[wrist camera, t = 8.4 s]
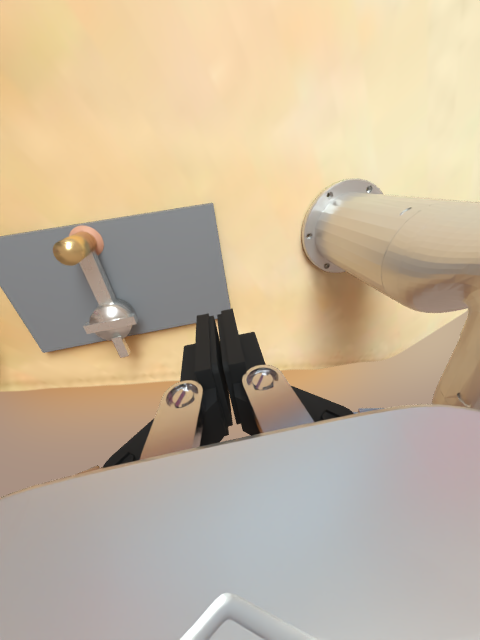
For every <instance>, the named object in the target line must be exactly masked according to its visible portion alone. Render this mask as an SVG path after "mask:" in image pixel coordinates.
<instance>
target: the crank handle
mask: <svg viewBox="0 0 480 640" xmlns="http://www.w3.org/2000/svg"><path fill="white" fill-rule="evenodd" d="M96 247H97V242H96V240H95V238H94V237H93V236H92V235H91V234H90V233H88V232H84V231H80V232H77V233H75V234H73V235H71V236H69V237H67V238H65V239H63V240H60V241H58V242H57V243H55V245H54V246H53V254H54V256H55V258H56V259H57V260H58V261H59V262H60V263H62V264H64V265H68V266H73V265H76V264H78V263H79V264H80V266H81V268H82V270H83V272H84V274H85V276H86V279H87V281H88V283H89V285H90V287H91V289H92V291H93V294H94V296H95V298H96V300H97V302H98V304H99V305H98V307H97V308H96V309H95V311H94V312H93V313H92V315H91V317H90V321H89V322H87V323H85V324H84V326H83V328H84V329H85V331H86V333H87V334H91V333H95V334H96V335H97V336H99V337H100V338H102V339H105V340H110V341H113V343H114V345H115V347H116V349H117V351H118V354H119V356H120V358H121V357H126V356H129V355H130V349H129V347H128V345H127V343H126V340H125V337H126V336H127V335H128V334H129V332H130V330H131V328H132V325H135V324H137V322H138V319H137V317H136V314H135V311H134V309H133V307H132V306H131V305H130V304H129V303H128V302H126V301H125V300H123V299H120V298H115V295H114V293H113V291H112V288H111V286H110V283H109V281H108V279H107V276H106V274H105V272H104V269H103V267H102V265H101V262H100V260H99V258H98V255H97V253H96V251H95V249H96Z"/></svg>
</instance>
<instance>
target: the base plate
mask: <svg viewBox="0 0 480 640" xmlns="http://www.w3.org/2000/svg"><path fill="white" fill-rule="evenodd" d="M80 231H84V232H88V233H90V234H91V235H92V236H93V237H94V238H95V240H96V242H97V247H96V249H95V251H96V253H97V255H98V258H99V260H100V262H101V265H102V267H103V269H104V272H105V274H106V276H107V279H108V281H109V283H110V286H111V288H112V291H113V293H114V295H115V298H120V299H123V300H125V301H126V302H128V303H129V304H130V305H131V306H132V307H133V309H134V311H135V314H136V317H137V319H138V322H137V324H135V325H132V328H131V330H130V332H129V334H128V335H127V336H131V335H136V334H142V333H147V332H152V331H157V330H162V329H167V328H172V327H177V326H182V325H188V324H193V323H196V320H197V315H203V314H208V313H209V316H213V315H214V319H218V318H217V315H218V314H221V311H223V310H228V309H230V303H229V297H228V291H227V285H226V279H225V273H224V267H223V261H222V255H221V249H220V243H219V237H218V231H217V225H216V219H215V213H214V207H213V203H208V204H202V205H195V206H189V207H183V208H176V209H170V210H164V211H157V212H151V213H145V214H139V215H132V216H126V217H120V218H113V219H107V220H101V221H94V222H88V223H82V224H75V225H69V226H63V227H56V228H50V229H44V230H37V231H31V232H25V233H18V234H12V235H6V236H0V286H1V288H2V290H3V291H4V293H5V294H6V296H7V297H8V299H9V300H10V302H11V303H12V305H13V307H14V308H15V310H16V311H17V313H18V314H19V316H20V317H21V319H22V321H23V322H24V324H25V325H26V327H27V328H28V330H29V331H30V333H31V335H32V336H33V338H34V339H35V341H36V342H37V344H38V345H39V347H40V348H41V350H42V352H43V353H45V352H50V351H55V350H60V349H65V348H70V347H75V346H80V345H85V344H90V343H96V342H101V341H106V340H105V339H102V338H100V337H99V336H97V335H96V334H95V333H91V334H87V333H86V331H85V329H84V328H83V326H84V324H85V323H87V322H89V321H90V317H91V315H92V313H93V312H94V311H95V309H96V308H97V307H98V305H99V304H98V302H97V300H96V298H95V296H94V294H93V291H92V289H91V287H90V285H89V283H88V281H87V279H86V276H85V274H84V272H83V270H82V268H81V266H80V264H79V263H78V264H76V265H73V266H68V265H64V264H62V263H60V262H59V261H58V260H57V259H56V258H55V256H54V254H53V246H54V245H55V243H57V242H58V241H60V240H63V239H65V238H67V237H69V236H71V235H73V234H75V233H77V232H80Z"/></svg>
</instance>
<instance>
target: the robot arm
mask: <svg viewBox="0 0 480 640" xmlns="http://www.w3.org/2000/svg"><path fill="white" fill-rule="evenodd" d="M366 189H367V190H366ZM327 194H328V197H327ZM307 234H308V237H306V236H307ZM302 244H303V248H304V251H305V254H306V255H307V257H308V259H309V260H310V261H311V262H312V263H313V264H314V265H315V266H317V267H318V268H320V269H322V270H324V271H327V272H332V273H340V272H348V273H350V274H351V275H353V276H355V277H356V278H358V279H360V280H361V281H363V282H365V283H366V284H368V285H370V286H371V287H373V288H375V289H376V290H378V291H380V292H381V293H383V294H385V295H386V296H388V297H390V298H391V299H393V300H395V301H397V302H398V303H400V304H402V305H404V306H406V307H408V308H410V309H413V310H416V311H420V312H426V313H442V312H451V311H456V310H461V309H466V308H468V316H467V320H466V322H465V324H464V327H463V329H462V331H461V334H460V339H459V341H458V343H457V345H456V347H455V349H454V351H453V353H452V355H451V357H450V360H449V362H448V364H447V366H446V368H445V370H444V372H443V374H442V376H441V378H440V381H439V383H438V385H437V387H436V390H435V392H434V396H433V399H432V404H430V405H429V404H428V405H421V404H420V405H407V406H397V407H391V408H369V409H368V408H365V409H359V411H358V412H352V411H350V410H349V409H347V408H346V407H344V406H341V405H339V404H336V403H333V402H331V401H329V400H326V399H323V398H321V397H318V396H315V395H313V394H311V393H308V392H305V391H303V390H300V389H298V388H295V387H293V386H290V384H289V383H288V381H287V380H286V379H285V377H284V375H283V374H282V372H281V371H280V370H279V369H278V368H276V367H274V366H270V365H265V362H264V359H263V356H262V353H261V350H260V347H259V344H258V341H257V338H256V335H255V333H254V332H251V333H246V334H241V335H238V330H237V326H236V322H235V318H234V313H233V309H228V310H223V311H221V314H218V315H217V318H218V328H219V336H218V332H217V327H216V323H215V319H214V315H213V316H209V313H208V314H203V315H197V320H196V344H191V345H186V346H184V352H183V361H182V370H181V380H180V382H178V383H176V384H174V385H173V386H171V387H170V388H169V389H168V390H167V391H166V392H165V393H164V395H163V397H162V399H161V402H160V405H159V408H158V410H157V414H156V416H155V418H154V419H153V420H152V421H151V422H150V423H148V424H147V425H146V426H145V427H144V428H143V429H142V430H141V431H139V432H138V433H137V434H136V435H135V436H134V437H133V438H132V439H130V440H129V441H128V442H127V443H126V444H125V445H124V446H123V447H121V448H120V449H119V450H118V451H117V452H116V453H115V454H113V455H112V456H111V457H110V458H109V460H108V461H107V462H106V463H105V464H104V466H103V467H101V468H100V467H99V466H98V465H97V466H94V467H92V468H90V469H87V470H85V471H82V472H80V473H78V474H75V475H73V476H68V477H64V478H60V479H56V480H53V481H49V482H45V483H42V484H38V485H34V486H31V487H28V488H25V489H22V490H19V491H16V492H13V493H10V494H8V495H6V496H3V497H1V498H0V640H480V202H468V201H456V200H443V199H431V198H419V197H407V196H395V195H384V194H383V193H382V191H381V190H380V189H379V188H378V187H377V186H376V185H375V184H373V183H371V182H369V181H367V180H362V179H347V180H342V181H339V182H336V183H334V184H332V185H331V186H329V187H328V188H326V189H325V190H324V191H323V192H321V193H320V194H319V195H318V196H317V198H316V199H315V200H314V201H313V203H312V204H311V206H310V208H309V209H308V211H307V214H306V216H305V219H304V222H303V227H302ZM219 337H220V340H219ZM229 394H230V398H231V403H232V406H233V411H234V415H235V419H236V423H237V424H241V425H242V429H243V431H244V432H246V433H248V434H250V435H251V436H247V437H242V438H238V439H233V440H229V441H224V442H220V441H221V440H222V439H223V437H224V436H227V435H229V432H228V426H232V425H233V424H232V415H231V407H230V399H229Z"/></svg>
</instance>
